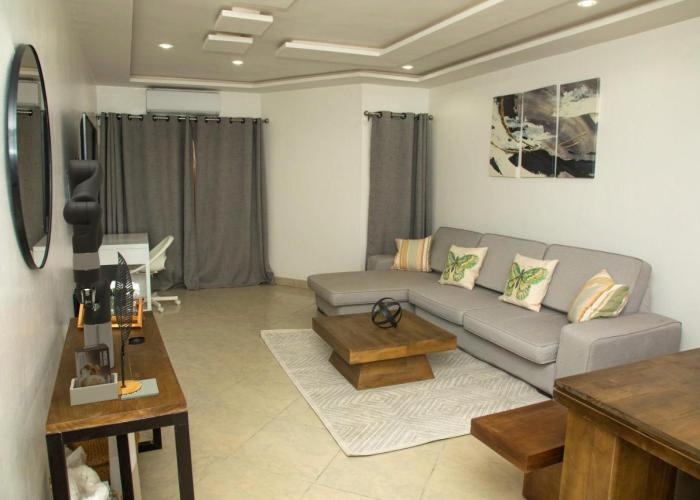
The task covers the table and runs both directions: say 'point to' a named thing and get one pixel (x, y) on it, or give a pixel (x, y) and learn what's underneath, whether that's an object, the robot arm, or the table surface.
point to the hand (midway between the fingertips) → (90, 318)
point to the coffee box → (93, 365)
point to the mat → (144, 390)
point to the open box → (93, 392)
